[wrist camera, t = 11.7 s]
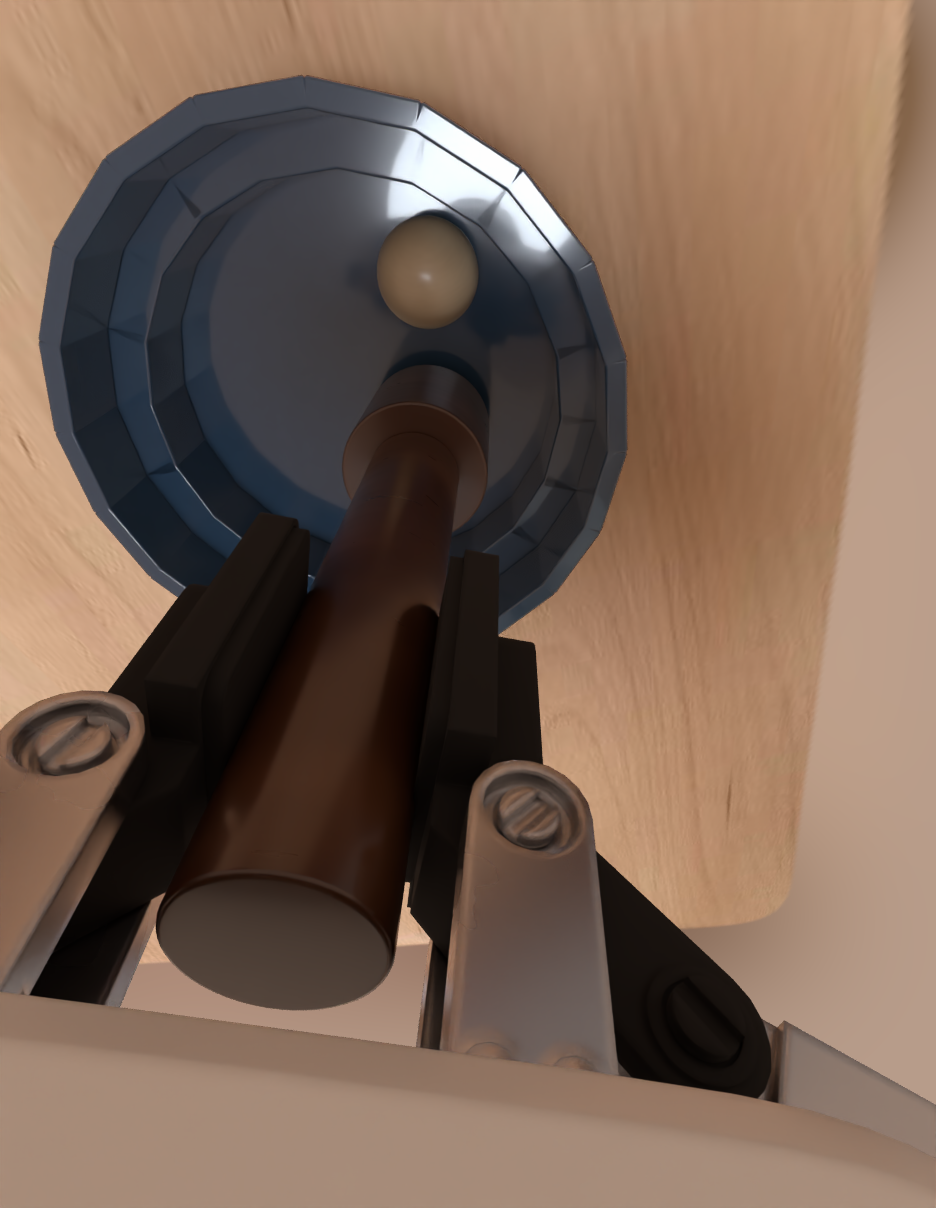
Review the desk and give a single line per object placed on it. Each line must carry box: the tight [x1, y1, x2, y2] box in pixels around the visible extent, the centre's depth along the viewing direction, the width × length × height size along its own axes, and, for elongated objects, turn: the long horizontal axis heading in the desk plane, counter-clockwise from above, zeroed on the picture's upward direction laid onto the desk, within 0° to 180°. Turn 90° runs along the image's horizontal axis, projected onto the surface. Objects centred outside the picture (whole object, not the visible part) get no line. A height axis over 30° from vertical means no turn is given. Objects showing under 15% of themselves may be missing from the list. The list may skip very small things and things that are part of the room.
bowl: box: [39, 75, 627, 635], centre depth 18 cm, size 14×14×5 cm
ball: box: [377, 215, 479, 329], centre depth 17 cm, size 3×3×3 cm
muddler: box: [156, 365, 489, 1010], centre depth 13 cm, size 4×4×16 cm
